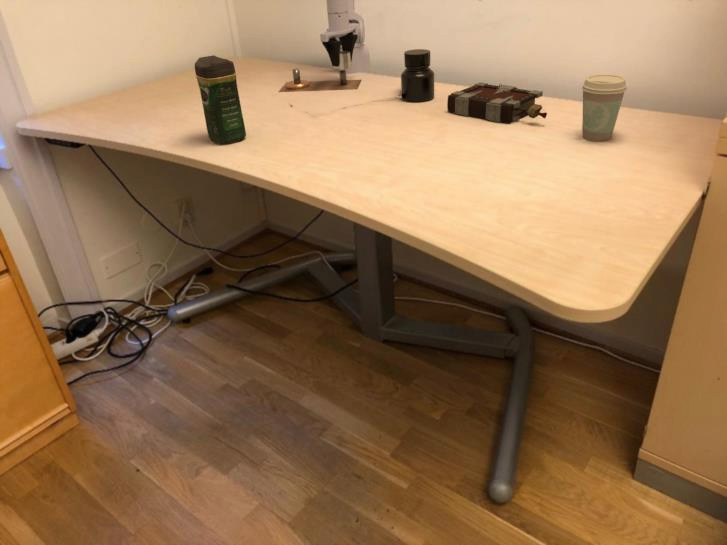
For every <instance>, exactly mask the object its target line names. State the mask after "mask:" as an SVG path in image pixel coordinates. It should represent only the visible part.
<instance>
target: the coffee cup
mask: <svg viewBox="0 0 727 545" xmlns="http://www.w3.org/2000/svg"><path fill="white" fill-rule="evenodd" d="M627 87H628V86H627V82H626V78H625V77H623V76H621V75H615V74H594V75H589V76H587V77H586V78H585V80H584V83H582V87H581V90H582V122H581V124H582V126H581V127H582V131H581V132H582V134H581V136H582V138H583V139H585V140H588V141H593V142H604V141H605V142H606V141H609V140H611V139H612V136H613V133H614V131H615V126H616V122H617V120H618V117H619V113H620V112H619V111H620V109H621V105H622V102H623V98H624V95H625V92H626V91H628V88H627Z"/></svg>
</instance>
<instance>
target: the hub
mask: <svg viewBox="0 0 727 545" xmlns="http://www.w3.org/2000/svg"><path fill="white" fill-rule="evenodd" d="M292 77H293V80H291V81H287V82H288V83H286V82H285V83H286V88H287V89H292V90H296V89H303V88H307V87H309V82H310V81H309V80H305V79H301V73H300V68H293V69H292Z"/></svg>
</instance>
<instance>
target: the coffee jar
mask: <svg viewBox="0 0 727 545" xmlns="http://www.w3.org/2000/svg"><path fill="white" fill-rule="evenodd" d="M194 71H195V77H196V81H197V86H198V87H199V94H200V97H201V102H202V103H201V104H202V107H203V115H204V120H205V125H206V131H207V135H208V138H209V139H210V140H211V141H213V142H215V143H218V144H228V143H229V144H233V143H238V142H239V141H241V140H243V139H245V138H246V136H247V132H246V125H245V120H244V117H243V116H244V115H243V111H242V105H241V101H240V96H239V95H240V94H239V89H238V84H237V83H238V82H237V73H236V69H235V65H234V62H233V61H232V60H229V59H227V58H223V57H219V56H216V55H215V54H214V55H207V56H201V57H198V59H197V60H196V61H195V63H194Z"/></svg>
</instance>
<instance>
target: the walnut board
mask: <svg viewBox="0 0 727 545" xmlns="http://www.w3.org/2000/svg"><path fill="white" fill-rule="evenodd" d="M288 82H289V81H287V82H285V83H284V84H283V86H281V88H280V89H279V90H278V91H277V92H278V93H290V92H291V93H293V92H296V93H297V92H317V91H318V92H319V91H348V90H352V91H353V90H358V89H359V87H360V84H361V82H362V79H346V82H347V85H344V86H341V84H340V79H339V80H318V81H316V80H314V81H309V87H307V88H303V89H296V90H292V89H287V88H286V83H288Z"/></svg>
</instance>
